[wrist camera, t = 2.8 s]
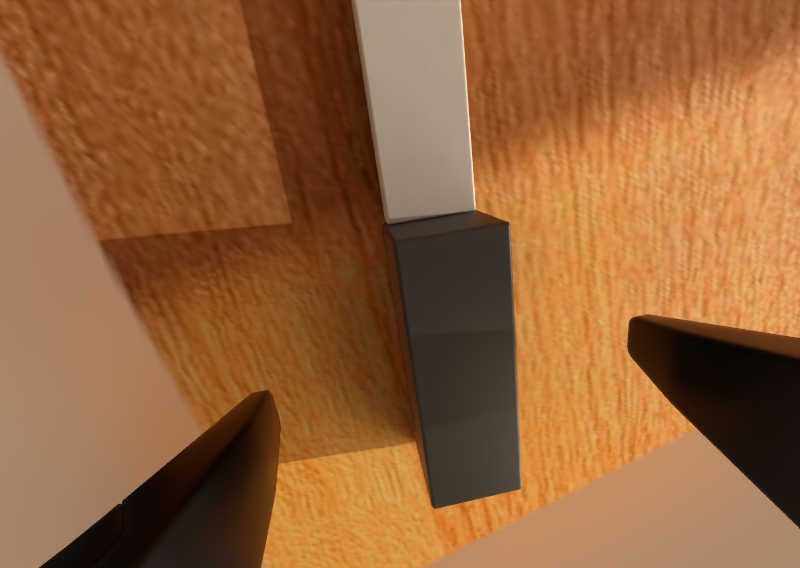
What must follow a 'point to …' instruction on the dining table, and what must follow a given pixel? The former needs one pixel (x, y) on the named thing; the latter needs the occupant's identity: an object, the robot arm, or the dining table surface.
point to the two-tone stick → (441, 251)
